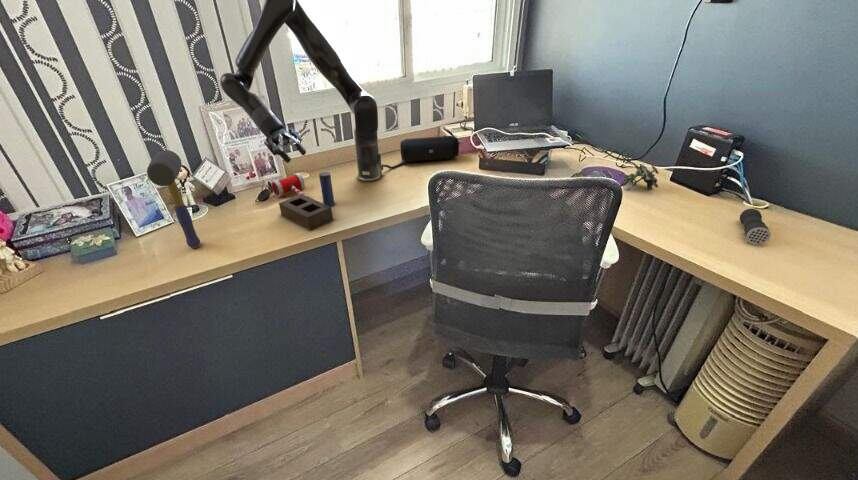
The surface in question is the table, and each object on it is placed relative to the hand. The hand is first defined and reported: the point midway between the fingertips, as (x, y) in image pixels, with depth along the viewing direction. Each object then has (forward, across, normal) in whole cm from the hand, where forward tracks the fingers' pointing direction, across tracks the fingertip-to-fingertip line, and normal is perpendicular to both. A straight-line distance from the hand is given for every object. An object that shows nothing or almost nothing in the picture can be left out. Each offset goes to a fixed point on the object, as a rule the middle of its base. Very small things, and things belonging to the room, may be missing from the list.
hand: (297, 157), depth 151 cm
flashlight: (+114, +38, -91) cm, 151 cm away
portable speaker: (+30, +58, -6) cm, 66 cm away
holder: (+19, -12, +4) cm, 23 cm away
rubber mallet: (+5, -44, +18) cm, 48 cm away
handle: (+20, 0, +3) cm, 20 cm away
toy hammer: (+8, +1, +15) cm, 17 cm away
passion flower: (+91, +60, -67) cm, 128 cm away
